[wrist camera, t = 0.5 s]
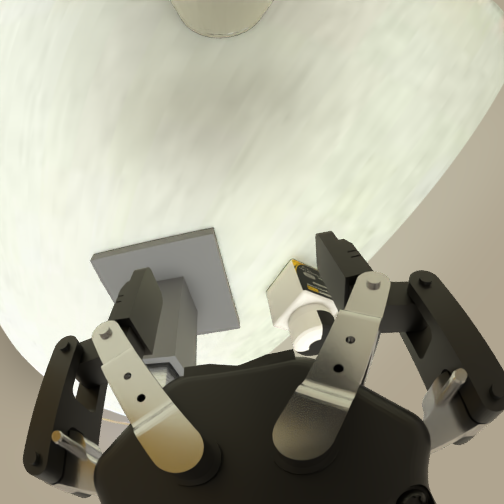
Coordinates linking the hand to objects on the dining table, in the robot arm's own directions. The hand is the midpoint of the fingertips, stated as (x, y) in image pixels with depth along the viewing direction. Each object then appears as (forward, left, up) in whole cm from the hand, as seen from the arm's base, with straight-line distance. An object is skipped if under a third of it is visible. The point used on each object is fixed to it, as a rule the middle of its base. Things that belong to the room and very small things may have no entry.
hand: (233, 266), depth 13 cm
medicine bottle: (+21, +7, -21) cm, 30 cm away
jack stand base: (+18, -12, -21) cm, 30 cm away
